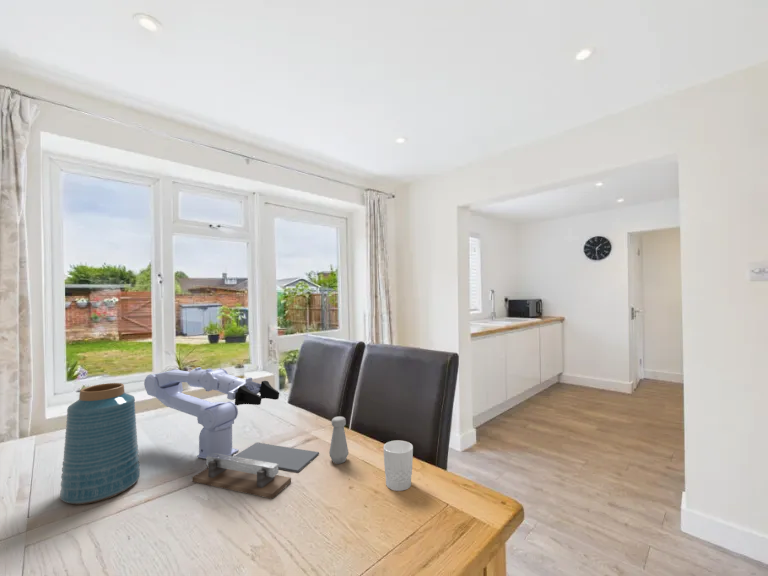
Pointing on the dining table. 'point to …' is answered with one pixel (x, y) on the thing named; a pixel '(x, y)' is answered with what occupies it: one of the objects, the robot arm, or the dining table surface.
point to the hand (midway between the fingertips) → (269, 398)
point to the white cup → (398, 464)
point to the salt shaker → (338, 441)
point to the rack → (242, 481)
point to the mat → (279, 456)
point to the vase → (100, 445)
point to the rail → (243, 464)
